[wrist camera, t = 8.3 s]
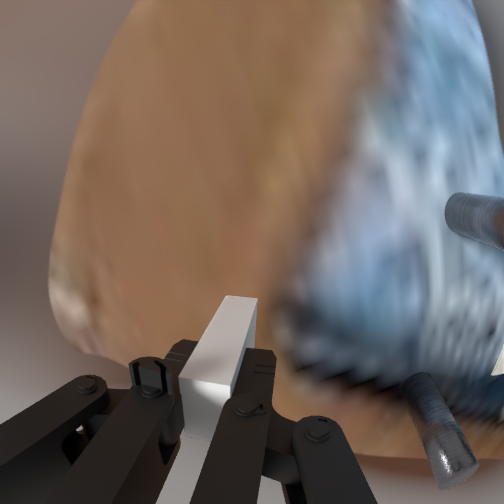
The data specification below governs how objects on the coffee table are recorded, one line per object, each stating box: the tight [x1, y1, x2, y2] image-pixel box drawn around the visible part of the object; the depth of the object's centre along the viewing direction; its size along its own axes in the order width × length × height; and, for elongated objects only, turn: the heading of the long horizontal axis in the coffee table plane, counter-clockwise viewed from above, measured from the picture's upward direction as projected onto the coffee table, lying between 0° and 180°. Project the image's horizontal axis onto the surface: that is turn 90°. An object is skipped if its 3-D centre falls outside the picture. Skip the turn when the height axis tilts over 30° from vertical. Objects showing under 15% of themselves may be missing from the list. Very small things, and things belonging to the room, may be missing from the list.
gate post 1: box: [400, 373, 479, 490], centre depth 13 cm, size 2×2×9 cm
